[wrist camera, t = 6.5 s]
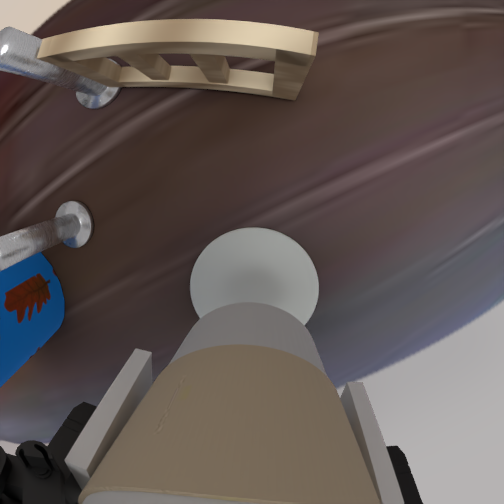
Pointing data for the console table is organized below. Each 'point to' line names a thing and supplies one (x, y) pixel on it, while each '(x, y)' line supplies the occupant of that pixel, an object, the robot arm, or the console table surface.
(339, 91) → the console table surface
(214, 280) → the coaster
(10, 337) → the thermos
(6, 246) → the post
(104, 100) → the hinge post
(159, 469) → the coffee cup
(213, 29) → the gate
